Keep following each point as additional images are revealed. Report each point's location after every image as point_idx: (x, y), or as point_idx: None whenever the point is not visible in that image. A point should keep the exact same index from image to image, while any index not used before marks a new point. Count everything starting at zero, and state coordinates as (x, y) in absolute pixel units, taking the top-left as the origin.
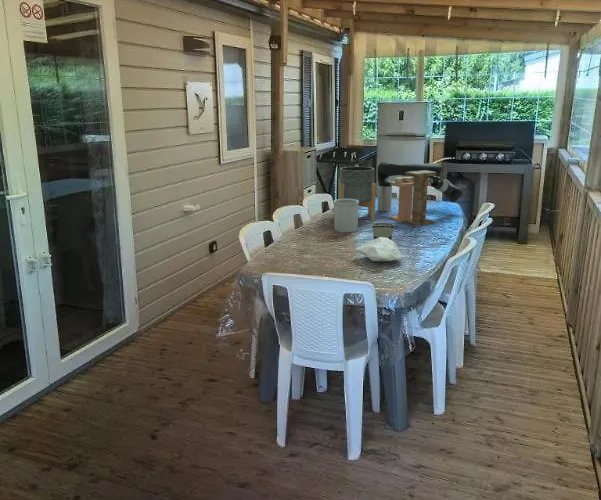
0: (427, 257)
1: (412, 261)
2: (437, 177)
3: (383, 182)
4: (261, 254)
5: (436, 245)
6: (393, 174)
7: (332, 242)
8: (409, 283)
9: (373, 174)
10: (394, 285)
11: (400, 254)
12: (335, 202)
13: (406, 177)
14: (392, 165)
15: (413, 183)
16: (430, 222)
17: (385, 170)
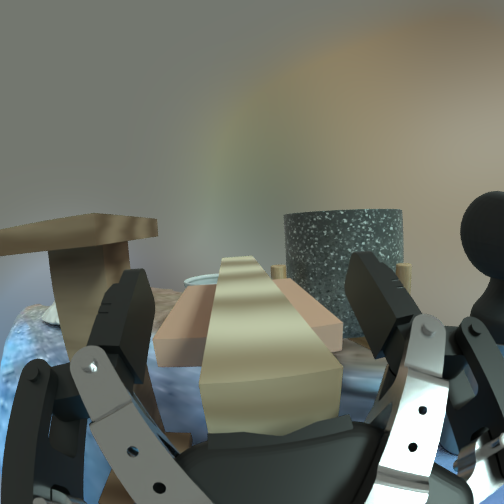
0: (21, 339)
1: (34, 329)
2: (13, 401)
3: (474, 305)
4: (175, 291)
5: (18, 366)
6: (502, 270)
7: (161, 318)
8: (25, 312)
9: (309, 233)
10: (34, 308)
11: (45, 317)
12: (213, 274)
13: (237, 266)
14: (493, 205)
15: (173, 309)
16: (105, 490)
17: (460, 234)
